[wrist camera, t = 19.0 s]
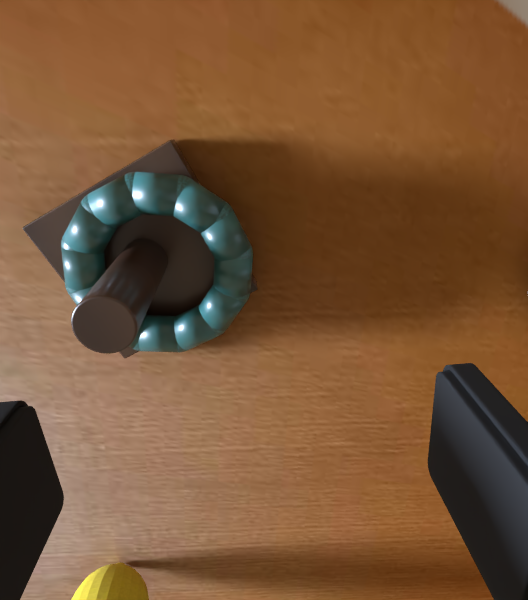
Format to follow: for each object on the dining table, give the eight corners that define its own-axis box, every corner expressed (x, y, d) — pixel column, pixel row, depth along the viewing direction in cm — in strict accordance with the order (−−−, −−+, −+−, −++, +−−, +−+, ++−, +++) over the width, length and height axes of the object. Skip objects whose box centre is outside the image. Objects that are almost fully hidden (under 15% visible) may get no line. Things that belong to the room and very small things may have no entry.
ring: (197, 136, 21) (193, 138, 19) (279, 297, 25) (283, 312, 23) (32, 223, 22) (14, 232, 21) (134, 365, 26) (126, 385, 24)
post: (173, 138, 22) (135, 152, 14) (257, 282, 26) (268, 364, 17) (31, 222, 24) (-83, 282, 15) (128, 349, 27) (80, 456, 18)
